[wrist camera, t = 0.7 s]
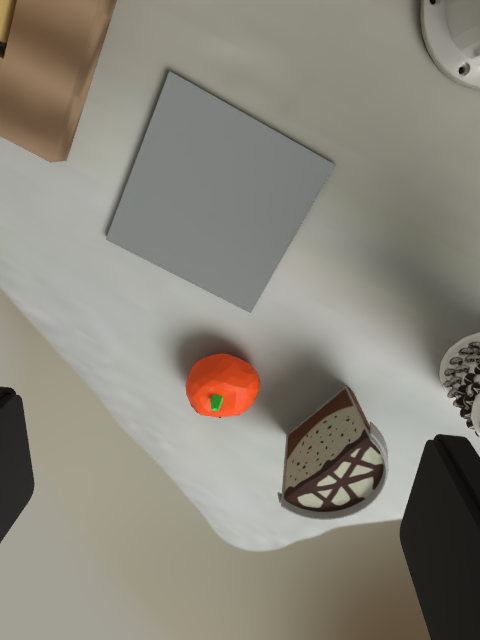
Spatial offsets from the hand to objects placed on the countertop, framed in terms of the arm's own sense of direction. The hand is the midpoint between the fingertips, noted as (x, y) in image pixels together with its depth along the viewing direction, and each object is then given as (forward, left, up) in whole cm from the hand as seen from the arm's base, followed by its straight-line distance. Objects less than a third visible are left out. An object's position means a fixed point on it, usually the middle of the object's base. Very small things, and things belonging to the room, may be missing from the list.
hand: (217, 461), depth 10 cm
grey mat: (+1, -5, -33) cm, 33 cm away
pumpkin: (+17, +4, -33) cm, 38 cm away
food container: (+17, +18, -33) cm, 42 cm away
